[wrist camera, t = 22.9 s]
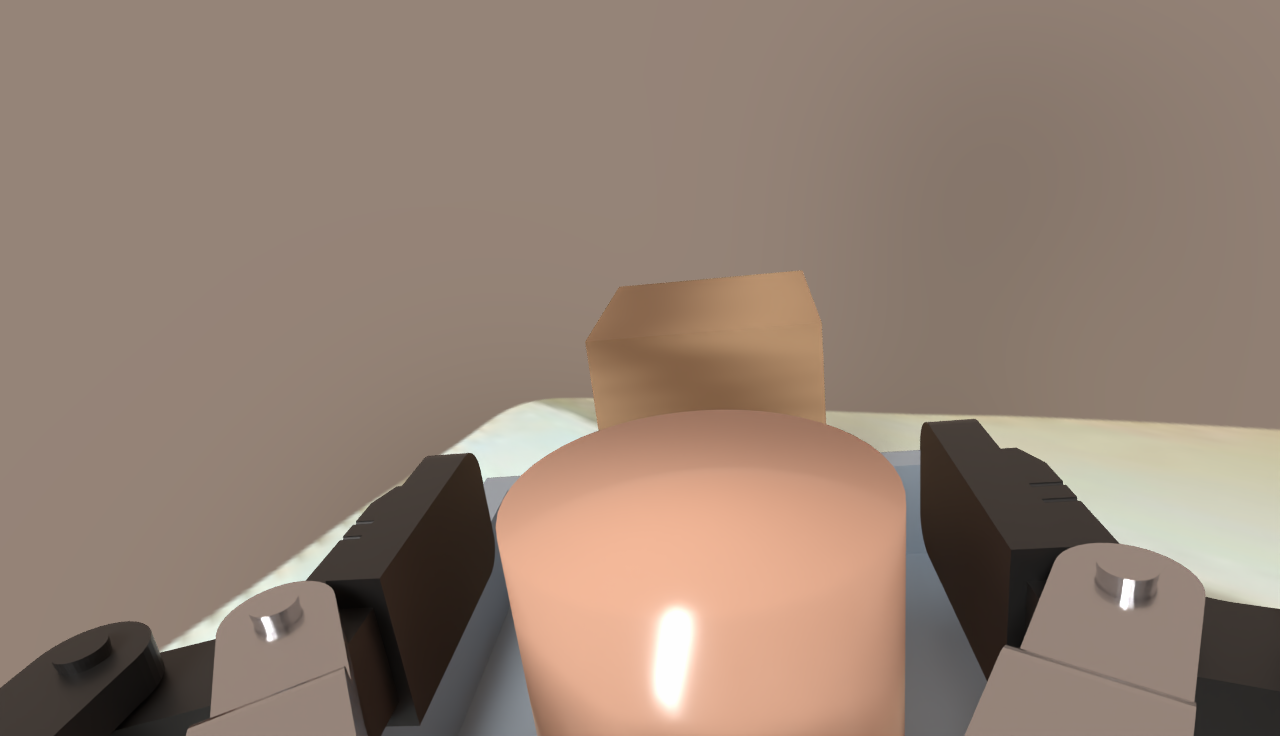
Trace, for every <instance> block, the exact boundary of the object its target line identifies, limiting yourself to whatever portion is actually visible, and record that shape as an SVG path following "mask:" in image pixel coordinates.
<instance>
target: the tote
mask: <svg viewBox="0 0 1280 736" xmlns="http://www.w3.org/2000/svg"><path fill="white" fill-rule="evenodd" d="M881 454H882V455H883V456H884V457H885V458H886V459H887V460H888V461H889V462H890V463H891V464H892V465H893V467H894V468H895V470H896V471H897V473H898V475H899V476H900V478H901V480H902V483H903V486H904V489H905V495H906V614H905V736H964V735H965V733H966V731H967V728H968V726H969V724H970V721H971V719H972V717H973V714H974V712H975V710H976V707H977V705H978V703H979V700H980V698H981V696H982V693H983V691H984V689H985V686H986V684H987V680H986V678H985V676H984V674H983V672H982V669H981V667H980V665H979V663H978V661H977V659H976V657H975V655H974V652H973V650H972V648H971V646H970V644H969V642H968V640H967V637H966V635H965V633H964V631H963V629H962V627H961V625H960V622H959V620H958V618H957V616H956V614H955V612H954V610H953V607H952V605H951V603H950V601H949V599H948V597H947V595H946V592H945V590H944V588H943V586H942V584H941V582H940V580H939V577H938V575H937V573H936V571H935V569H934V567H933V565H932V562H931V560H930V558H929V556H928V554H927V551H926V548H925V544H924V540H923V535H922V529H921V519H920V450H913V451H897V452H882V453H881ZM519 477H520V476H511V477H495V478H487V479H486V481H485V482H484V484H483V485H484V490H485V495H486V499H487V504H488V509H489V514H490V518H491V523H492V528H493V533H494V539H495V560H494V567H493V571H492V573H491V576H490V578H489V580H488V582H487V584H486V587H485V589H484V591H483V593H482V595H481V597H480V599H479V601H478V604H477V606H476V608H475V610H474V612H473V614H472V616H471V618H470V621H469V623H468V625H467V627H466V629H465V631H464V633H463V635H462V637H461V640H460V642H459V644H458V646H457V648H456V650H455V652H454V654H453V657H452V659H451V661H450V663H449V665H448V667H447V669H446V671H445V674H444V676H443V678H442V680H441V682H440V684H439V686H438V688H437V691H436V693H435V695H434V697H433V699H432V701H431V703H430V705H429V708H428V710H427V712H426V714H425V716H424V718H423V720H422V722H421V725H420V726H394V727H385V729H384V731H383V733H382V735H381V736H537V733H536V728H535V723H534V718H533V714H532V709H531V704H530V699H529V694H528V689H527V684H526V679H525V674H524V669H523V665H522V660H521V655H520V650H519V645H518V640H517V635H516V630H515V625H514V620H513V616H512V611H511V606H510V601H509V596H508V591H507V586H506V581H505V576H504V571H503V567H502V562H501V557H500V552H499V547H498V542H497V534H496V521H497V514H498V511H499V508H500V506H501V503H502V501H503V499H504V497H505V496H506V494H507V492H508V491H509V489H510V488H511V486H512V485H513V484H514V483H515V482H516V481H517V480H518V479H519Z"/></svg>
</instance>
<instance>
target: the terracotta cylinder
mask: <svg viewBox="0 0 1280 736" xmlns="http://www.w3.org/2000/svg"><path fill="white" fill-rule="evenodd" d="M496 534H497V542H498V547H499V552H500V557H501V562H502V567H503V571H504V576H505V581H506V586H507V591H508V596H509V601H510V606H511V611H512V616H513V620H514V625H515V630H516V635H517V640H518V645H519V650H520V655H521V660H522V665H523V669H524V674H525V679H526V684H527V689H528V694H529V699H530V704H531V709H532V714H533V718H534V723H535V728H536V733H537V736H905V614H906V495H905V489H904V486H903V483H902V480H901V478H900V476H899V475H898V473H897V471H896V470H895V468H894V467H893V465H892V464H891V463H890V462H889V461H888V460H887V459H886V458H885V457H884V456H883V455H882V454H881V453H880V452H878V451H877V450H876V449H874V448H873V447H872V446H871V445H869V444H868V443H866V442H864V441H862V440H861V439H859V438H857V437H856V436H854V435H851V434H849V433H847V432H845V431H842V430H840V429H838V428H835V427H832V426H829V425H826V424H824V423H821V422H817V421H813V420H809V419H805V418H802V417H796V416H791V415H786V414H780V413H772V412H764V411H750V410H699V411H688V412H678V413H671V414H664V415H657V416H652V417H647V418H642V419H637V420H633V421H629V422H626V423H622V424H618V425H615V426H612V427H608V428H605V429H602V430H599V431H596V432H594V433H591V434H589V435H586V436H584V437H581V438H579V439H577V440H575V441H573V442H570V443H568V444H566V445H564V446H562V447H561V448H559V449H557V450H555V451H554V452H552V453H550V454H548V455H547V456H545V457H544V458H543V459H541V460H540V461H538V462H537V463H535V464H534V465H533V466H532V467H530V468H529V469H528V470H527V471H526V472H525V473H524V474H522V475H521V476H520V477H519V479H518V480H517V481H516V482H515V483H514V484H513V485H512V486H511V488H510V489H509V491H508V492H507V494H506V496H505V497H504V499H503V501H502V503H501V506H500V508H499V511H498V514H497V521H496Z"/></svg>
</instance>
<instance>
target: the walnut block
mask: <svg viewBox="0 0 1280 736" xmlns="http://www.w3.org/2000/svg"><path fill="white" fill-rule="evenodd" d="M585 343H586V349H587V356H588V362H589V369H590V376H591V383H592V388H593V395H594V403H595V409H596V416H597V423H598V429H599V430H602V429H605V428H608V427H612V426H615V425H618V424H622V423H626V422H629V421H633V420H637V419H642V418H647V417H652V416H657V415H664V414H671V413H678V412H688V411H699V410H750V411H764V412H772V413H780V414H786V415H791V416H796V417H802V418H805V419H809V420H813V421H817V422H821V423H824V424H826V413H825V389H824V365H823V342H822V323H821V320H820V317H819V315H818V312H817V309H816V306H815V304H814V301H813V298H812V296H811V293H810V290H809V288H808V285H807V283H806V279H805V277H804V274H803V271H791V272H780V273H769V274H757V275H746V276H735V277H724V278H713V279H702V280H691V281H680V282H669V283H657V284H646V285H637V286H625V287H619V288H618V290H617V291H616V293H615V295H614V296H613V298H612V299H611V301H610V303H609V304H608V306H607V307H606V309H605V311H604V312H603V314H602V316H601V317H600V319H599V320H598V322H597V324H596V325H595V327H594V328H593V330H592V332H591V333H590V335H589V337H588V338H587V340H586V342H585Z"/></svg>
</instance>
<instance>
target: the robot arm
mask: <svg viewBox="0 0 1280 736" xmlns="http://www.w3.org/2000/svg"><path fill="white" fill-rule="evenodd" d="M920 519H921V529H922V535H923V540H924V544H925V548H926V551H927V554H928V556H929V558H930V560H931V562H932V565H933V567H934V569H935V571H936V573H937V575H938V577H939V580H940V582H941V584H942V586H943V588H944V590H945V592H946V595H947V597H948V599H949V601H950V603H951V605H952V607H953V610H954V612H955V614H956V616H957V618H958V620H959V622H960V625H961V627H962V629H963V631H964V633H965V635H966V637H967V640H968V642H969V644H970V646H971V648H972V650H973V652H974V655H975V657H976V659H977V661H978V663H979V665H980V667H981V669H982V672H983V674H984V676H985V678H986V680H987V684H986V686H985V689H984V691H983V693H982V696H981V698H980V700H979V703H978V705H977V707H976V710H975V712H974V714H973V717H972V719H971V721H970V724H969V726H968V728H967V731H966V733H965V735H964V736H1280V609H1275V608H1268V607H1261V606H1254V605H1247V604H1240V603H1233V602H1227V601H1222V600H1217V599H1212V598H1208V597H1205V589H1204V587H1203V585H1202V583H1201V582H1200V580H1199V579H1198V578H1197V577H1196V576H1195V575H1194V574H1193V573H1192V572H1191V571H1190V570H1188V569H1187V568H1185V567H1184V566H1183V565H1181V564H1179V563H1178V562H1176V561H1174V560H1172V559H1170V558H1168V557H1166V556H1163V555H1161V554H1158V553H1155V552H1153V551H1150V550H1147V549H1143V548H1139V547H1135V546H1129V545H1123V544H1119V543H1118V541H1117V540H1116V539H1115V538H1114V537H1113V536H1112V535H1111V534H1110V533H1109V532H1108V530H1107V529H1106V528H1105V527H1104V526H1103V525H1102V524H1101V523H1100V522H1099V521H1098V519H1097V518H1096V517H1095V516H1094V515H1093V514H1092V513H1091V512H1090V511H1089V510H1088V509H1087V507H1086V506H1085V505H1084V504H1083V503H1082V502H1081V501H1077V496H1076V495H1075V494H1074V493H1073V492H1072V491H1071V490H1070V489H1069V488H1068V487H1067V485H1063V481H1062V480H1061V479H1060V478H1059V477H1058V476H1057V474H1056V473H1055V472H1054V471H1053V470H1052V469H1051V468H1050V467H1049V466H1048V465H1047V463H1045V462H1043V461H1042V460H1040V459H1038V458H1036V457H1034V456H1032V455H1030V454H1028V453H1026V452H1024V451H1022V450H1020V449H1018V448H1005V449H1000V448H999V446H998V445H997V444H996V443H995V441H994V440H993V439H992V438H991V437H990V435H989V434H988V433H987V432H986V430H985V429H984V428H983V427H982V426H981V424H980V423H979V422H978V421H977V420H976V419H967V420H953V421H939V422H925V423H924V424H923V425H922V429H921V436H920ZM494 560H495V539H494V533H493V528H492V523H491V518H490V514H489V509H488V504H487V499H486V495H485V490H484V485H483V480H482V476H481V471H480V467H479V463H478V461H477V459H476V457H475V456H474V455H473V454H472V453H464V454H450V455H435V456H427V457H425V458H424V460H423V461H422V462H421V463H420V464H419V466H418V467H417V468H416V469H415V471H414V472H413V473H412V474H411V475H410V477H409V478H408V479H407V480H406V482H405V483H404V484H403V485H402V486H398V487H395V488H394V489H392V490H391V491H389V492H388V493H386V494H385V495H383V496H382V497H380V498H379V499H377V500H376V501H374V502H373V503H371V504H370V506H369V507H368V508H367V509H366V510H365V511H364V513H363V514H362V515H361V516H360V517H359V519H358V520H357V521H356V525H353V526H352V527H351V528H350V529H349V530H348V531H347V533H346V534H345V535H344V536H343V540H340V541H339V542H338V543H337V544H336V546H335V547H334V548H333V549H332V550H331V551H330V553H329V554H328V555H327V556H326V557H325V559H324V560H323V561H322V562H321V563H320V564H319V566H318V567H317V568H316V569H315V570H314V571H313V573H312V574H311V575H310V576H309V577H308V579H307V580H306V581H300V582H293V583H288V584H284V585H281V586H277V587H274V588H272V589H269V590H266V591H264V592H262V593H260V594H257V595H255V596H254V597H252V598H250V599H248V600H247V601H245V602H244V603H242V604H241V605H239V606H238V607H236V608H235V609H234V610H233V611H231V612H230V613H229V614H228V615H227V616H226V617H225V619H224V620H223V621H222V622H221V624H220V626H219V628H218V630H217V633H216V639H214V640H210V641H206V642H202V643H198V644H194V645H190V646H186V647H182V648H178V649H174V650H170V651H165V652H161V653H160V652H159V650H158V647H157V645H156V642H155V640H154V637H153V635H152V632H151V630H150V628H149V627H148V626H147V625H145V624H143V623H139V622H130V621H128V622H118V623H113V624H108V625H104V626H100V627H98V628H95V629H91V630H88V631H86V632H83V633H81V634H79V635H76V636H74V637H72V638H70V639H68V640H66V641H64V642H62V643H60V644H59V645H57V646H55V647H53V648H52V649H50V650H49V651H47V652H45V653H44V654H43V655H41V656H40V657H39V658H37V659H36V660H35V661H33V662H32V663H31V664H30V665H28V666H27V667H26V668H25V669H23V670H22V671H21V672H20V673H19V674H17V675H16V676H15V677H14V678H12V679H11V680H10V681H8V682H7V683H6V684H5V685H4V686H2V687H1V688H0V736H381V735H382V733H383V731H384V729H385V727H394V726H420V725H421V722H422V720H423V718H424V716H425V714H426V712H427V710H428V708H429V705H430V703H431V701H432V699H433V697H434V695H435V693H436V691H437V688H438V686H439V684H440V682H441V680H442V678H443V676H444V674H445V671H446V669H447V667H448V665H449V663H450V661H451V659H452V657H453V654H454V652H455V650H456V648H457V646H458V644H459V642H460V640H461V637H462V635H463V633H464V631H465V629H466V627H467V625H468V623H469V621H470V618H471V616H472V614H473V612H474V610H475V608H476V606H477V604H478V601H479V599H480V597H481V595H482V593H483V591H484V589H485V587H486V584H487V582H488V580H489V578H490V576H491V573H492V571H493V567H494Z"/></svg>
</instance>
